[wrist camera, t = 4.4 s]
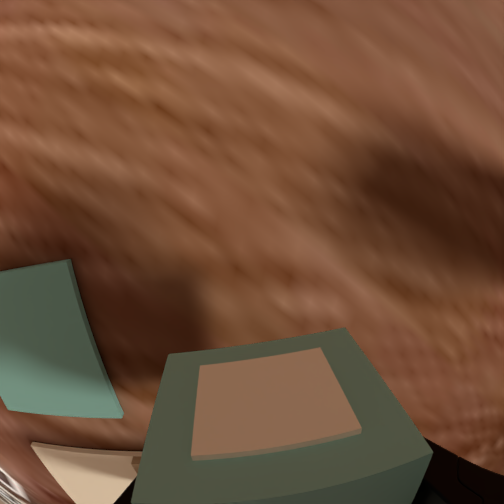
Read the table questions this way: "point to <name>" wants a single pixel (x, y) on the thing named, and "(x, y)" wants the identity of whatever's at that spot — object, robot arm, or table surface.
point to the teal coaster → (50, 346)
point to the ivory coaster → (88, 471)
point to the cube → (279, 428)
